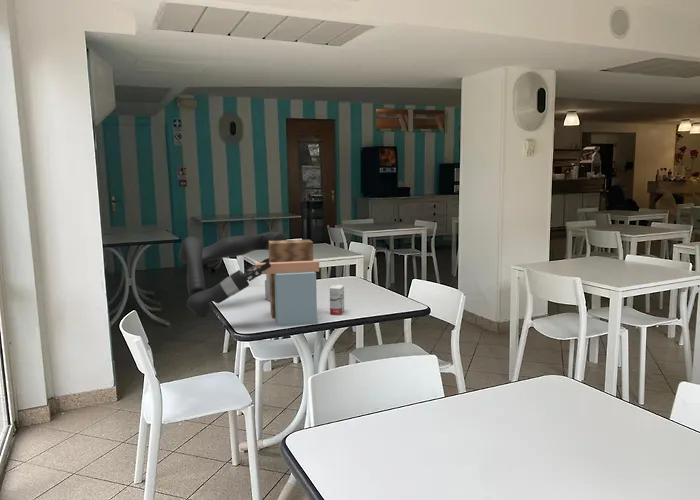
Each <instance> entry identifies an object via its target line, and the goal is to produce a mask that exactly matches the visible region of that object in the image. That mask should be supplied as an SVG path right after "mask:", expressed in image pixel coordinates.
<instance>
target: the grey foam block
mask: <svg viewBox="0 0 700 500" xmlns="http://www.w3.org/2000/svg"><path fill="white" fill-rule="evenodd" d="M274 279H275V314H276V318H275V322H276V324H277V327H284V326H296V325H298V326H299V325H312V324H317V323H318V307H317V306H318V303H317V300H318V299H317V294H318V293H317V272H298V273H278V274H274Z"/></svg>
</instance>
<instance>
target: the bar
mask: <svg viewBox="0 0 700 500" xmlns="http://www.w3.org/2000/svg"><path fill="white" fill-rule="evenodd" d="M264 264H265V263H260V262H255V263H254V265H255V268H258V267H260V266H262V265H264ZM270 265H271V267H270V268H268V269H266V270H265V271H263V273H262V274H261V275H266V274H278V273H298V272H316V273H317V272H320V261H319V260H313V261H293V262H270Z"/></svg>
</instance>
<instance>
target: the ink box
mask: <svg viewBox="0 0 700 500" xmlns="http://www.w3.org/2000/svg"><path fill="white" fill-rule="evenodd" d="M344 311H345V284H333V285H331V286H330V287H329V315H337V316H338V315H339V316H341V314H342V313H343V312H344Z"/></svg>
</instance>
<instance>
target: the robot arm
mask: <svg viewBox="0 0 700 500" xmlns="http://www.w3.org/2000/svg"><path fill="white" fill-rule="evenodd" d="M282 240H287V237H286V235H285V234H284V233H282V232H277V231H266V232H263V233H258V234H254V235H252V234H251V235H234V236H227V237H223V238H222V239H220V240H218V241H216V242H215V243H213V244H211V245H208V246H206V247H205V246H203V245H204V244H203V242H202V240H201V239H200V238H198V237H196V236H192V235H191V236H187V237H185V238H184V239H183V240H182V242H181V245H180V248H179V252H178V259H179V261H180V262H181V263H183V264H186V265H187V266H186V267H187V268H186V286H187V294H188V295H189V297H188V298H187V301H186V307H187V308H188V310H189V311H191V312H192V313H193V314H194V316H195V317H197V318H201V319H203V318H206V317H208V315H209V314H210V312H211V307H212V305H211V302H213V303H215V304H220V303H222V302H224V301H226V300H227V299H229V298H231V297H232V296H235V295H236V294H238V293H240V292H241V291H243V290H244V289H246V288H247V287H249V286H250V284H249V282H252V281H253V280H255V279H256V278H258V277H259V276H261V275H263V274H262V273H263V271H265V270H266V269H268V268H270V267H271V265H270V263H269V257H268V258H265V259H264V260H262V261H260V262H259V263H265V264H264V265H262V266H260V267H258V268H255V264H253V265H251V266H250V267H249V268H247V269H245V270H244V273H243V271H241V269H238V270H236V271H234V272H232V273H231V274H230V275H229V276H227V277H225V278H224V279H223V280H222V281H220V282H219V283H217V284H216V285H214V286H212V287H211V288H206V283H205V277H204V276H205V275H204V269H203V267H204V266H203V263H204V262H208V261H213V260H218V259H219V260H220V259H223V258H232V257H239V256H240V257H241V256H244V255H247V254H248V253H251V252H254V251H265V250H266V251H269V241H282ZM265 276H266V279H265V280H264V291H265V292H264V293H265V294H264V296H265V297H264V298H265V300H267V301H269V302H270V274H265Z"/></svg>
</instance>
